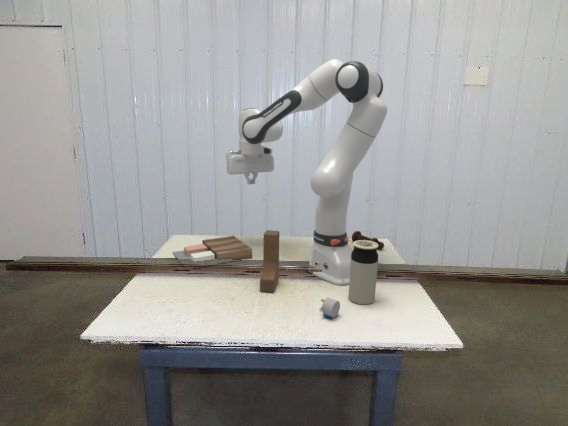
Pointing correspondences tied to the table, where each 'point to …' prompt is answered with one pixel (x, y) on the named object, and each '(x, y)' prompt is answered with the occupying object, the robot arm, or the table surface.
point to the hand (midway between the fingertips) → (251, 184)
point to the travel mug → (363, 272)
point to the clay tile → (194, 249)
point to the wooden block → (270, 261)
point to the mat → (181, 255)
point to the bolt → (358, 236)
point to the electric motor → (330, 307)
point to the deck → (228, 248)
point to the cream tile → (202, 256)
